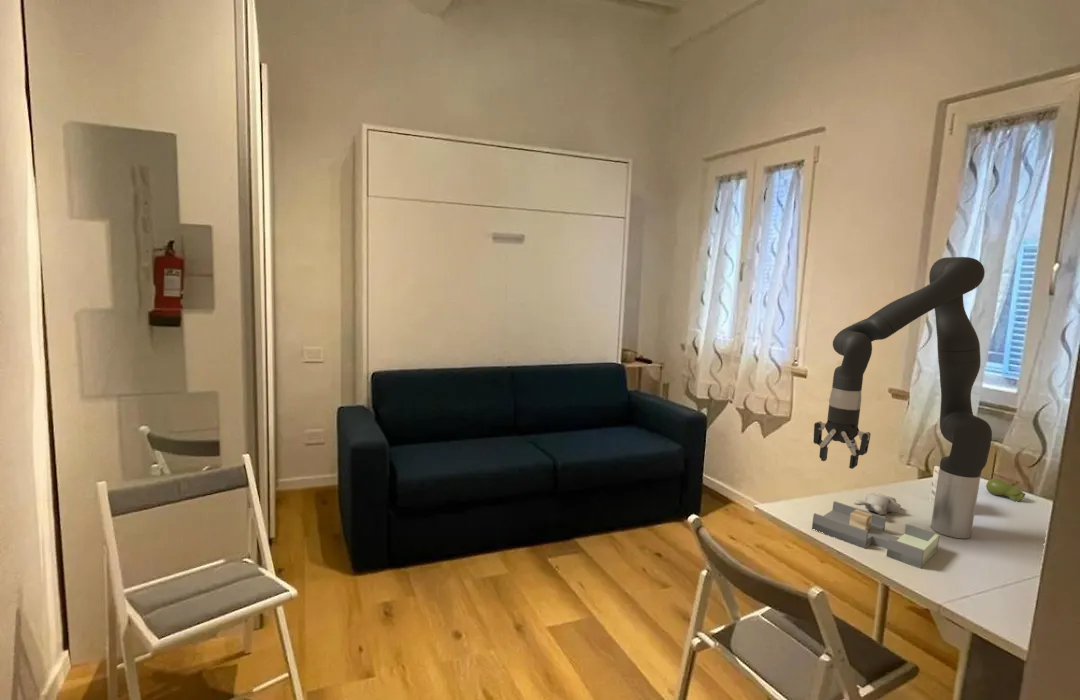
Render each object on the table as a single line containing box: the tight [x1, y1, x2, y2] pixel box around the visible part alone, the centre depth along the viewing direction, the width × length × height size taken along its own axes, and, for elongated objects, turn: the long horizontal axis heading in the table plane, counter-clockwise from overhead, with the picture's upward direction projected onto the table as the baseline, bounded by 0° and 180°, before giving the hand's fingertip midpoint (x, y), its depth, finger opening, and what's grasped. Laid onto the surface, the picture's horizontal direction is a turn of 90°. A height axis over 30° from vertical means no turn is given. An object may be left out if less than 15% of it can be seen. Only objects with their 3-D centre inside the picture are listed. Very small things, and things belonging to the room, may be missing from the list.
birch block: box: [849, 510, 872, 531], centre depth 159 cm, size 4×4×4 cm
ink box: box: [929, 465, 940, 506], centre depth 180 cm, size 9×5×12 cm, turn 168°
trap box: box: [811, 500, 941, 569], centre depth 157 cm, size 14×26×4 cm, turn 43°
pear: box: [985, 478, 1026, 502], centre depth 191 cm, size 6×5×10 cm
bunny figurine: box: [853, 493, 901, 516], centre depth 176 cm, size 10×5×15 cm
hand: (837, 464), depth 163 cm, fingers open, 7 cm apart
